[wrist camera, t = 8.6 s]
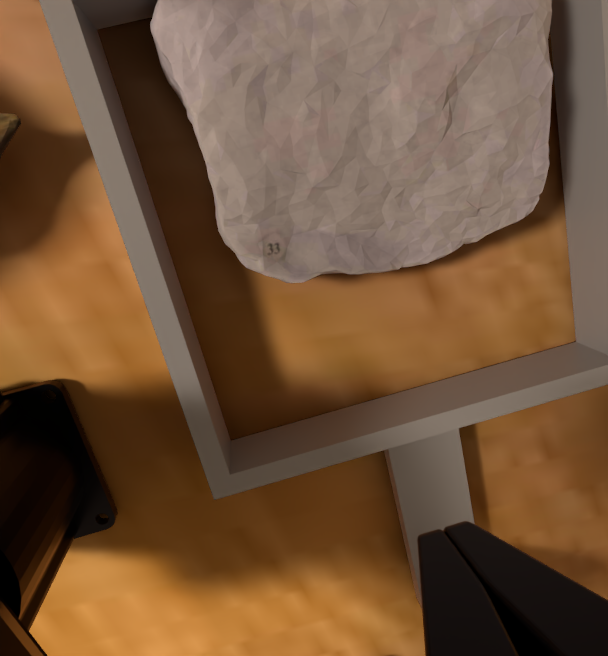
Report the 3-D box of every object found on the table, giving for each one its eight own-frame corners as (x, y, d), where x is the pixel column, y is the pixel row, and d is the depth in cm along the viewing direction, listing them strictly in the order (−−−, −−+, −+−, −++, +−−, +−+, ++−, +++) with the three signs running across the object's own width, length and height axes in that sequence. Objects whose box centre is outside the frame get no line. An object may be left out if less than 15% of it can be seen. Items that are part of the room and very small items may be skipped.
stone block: (501, 204, 21) (489, -88, 16) (572, 235, 16) (585, -149, 12) (235, 279, 20) (144, 5, 16) (238, 330, 16) (115, -24, 11)
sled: (608, 536, 23) (769, 685, 16) (277, 640, 22) (295, 846, 15) (561, -107, 16) (823, -353, 9) (62, 6, 15) (-100, -169, 8)
